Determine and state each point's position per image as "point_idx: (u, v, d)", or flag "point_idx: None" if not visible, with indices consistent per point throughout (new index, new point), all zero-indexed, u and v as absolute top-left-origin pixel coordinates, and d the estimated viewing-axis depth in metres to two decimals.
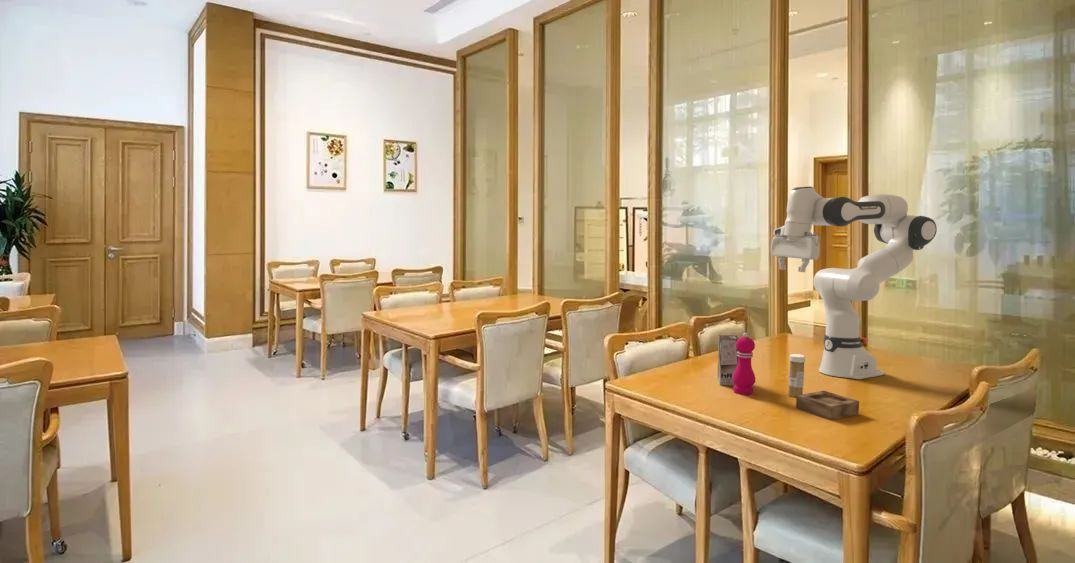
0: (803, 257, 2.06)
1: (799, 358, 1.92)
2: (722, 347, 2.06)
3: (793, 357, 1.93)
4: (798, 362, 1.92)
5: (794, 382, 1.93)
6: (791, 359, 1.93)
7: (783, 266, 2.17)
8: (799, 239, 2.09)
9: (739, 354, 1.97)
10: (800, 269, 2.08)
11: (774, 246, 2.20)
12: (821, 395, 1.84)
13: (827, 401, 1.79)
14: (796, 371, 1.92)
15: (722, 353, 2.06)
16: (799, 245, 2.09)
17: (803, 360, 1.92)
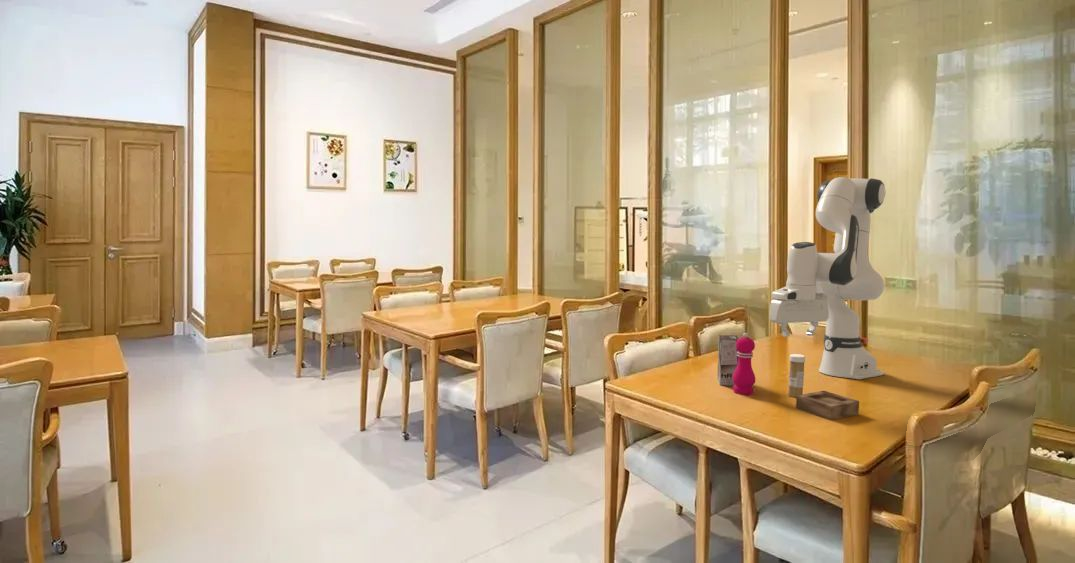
0: (819, 320, 1.93)
1: (799, 358, 1.92)
2: (722, 347, 2.06)
3: (793, 357, 1.93)
4: (798, 362, 1.92)
5: (794, 382, 1.93)
6: (791, 359, 1.93)
7: None
8: (813, 302, 1.91)
9: (739, 354, 1.97)
10: (813, 333, 1.93)
11: (781, 312, 1.88)
12: (821, 395, 1.84)
13: (827, 401, 1.79)
14: (796, 371, 1.92)
15: (722, 353, 2.06)
16: (812, 308, 1.92)
17: (803, 360, 1.92)
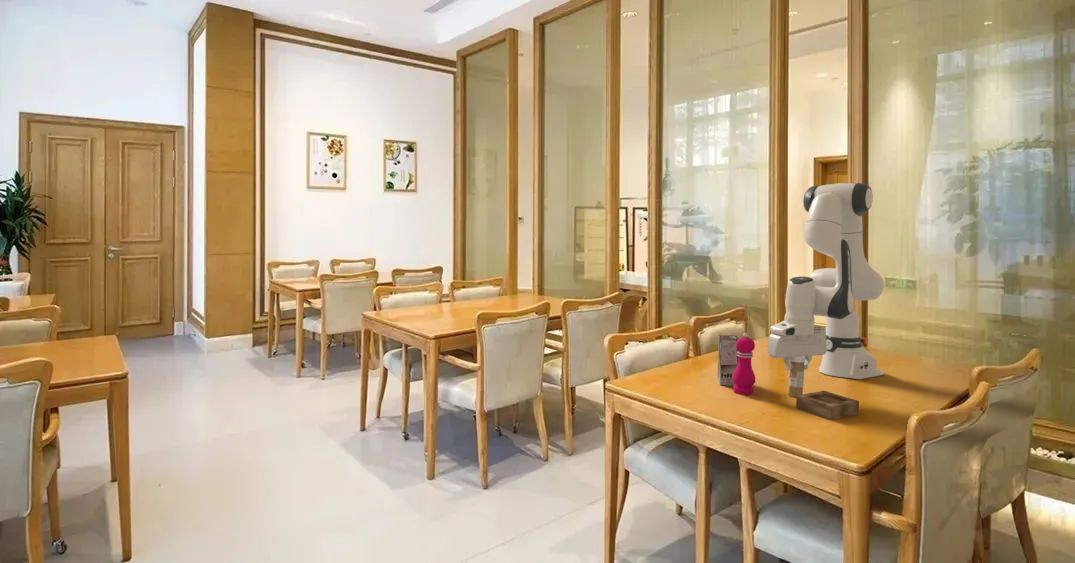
0: (818, 354, 1.94)
1: (799, 358, 1.92)
2: (722, 347, 2.06)
3: (793, 357, 1.93)
4: (798, 362, 1.92)
5: (794, 382, 1.93)
6: (791, 359, 1.93)
7: None
8: (811, 336, 1.92)
9: (739, 354, 1.97)
10: (806, 367, 1.94)
11: (780, 347, 1.89)
12: (821, 395, 1.84)
13: (827, 401, 1.79)
14: (796, 371, 1.92)
15: (722, 353, 2.06)
16: (811, 342, 1.93)
17: (803, 360, 1.92)
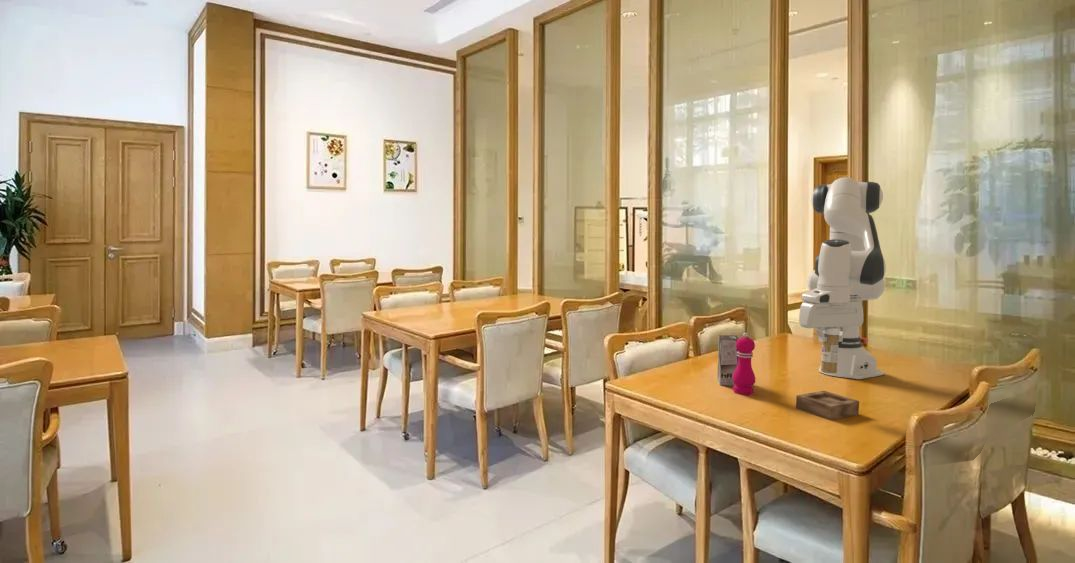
0: (853, 324, 1.77)
1: (833, 330, 1.75)
2: (722, 347, 2.06)
3: (827, 329, 1.75)
4: (832, 335, 1.75)
5: (828, 357, 1.76)
6: (824, 331, 1.76)
7: None
8: (847, 304, 1.75)
9: (739, 354, 1.97)
10: (841, 339, 1.77)
11: (813, 316, 1.72)
12: (821, 395, 1.84)
13: (827, 401, 1.79)
14: (830, 344, 1.75)
15: (722, 353, 2.06)
16: (846, 311, 1.76)
17: (838, 332, 1.75)
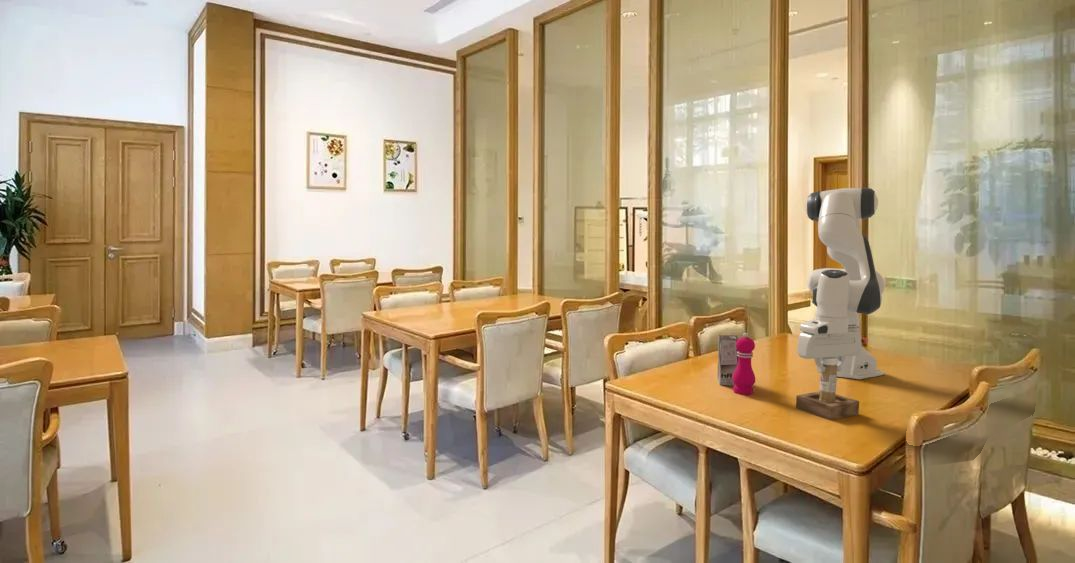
0: (852, 354, 1.78)
1: (832, 360, 1.75)
2: (722, 347, 2.06)
3: (825, 359, 1.76)
4: (831, 365, 1.76)
5: (826, 386, 1.77)
6: (823, 361, 1.77)
7: None
8: (845, 335, 1.76)
9: (739, 354, 1.97)
10: (839, 368, 1.78)
11: (811, 347, 1.73)
12: None
13: None
14: (828, 374, 1.76)
15: (722, 353, 2.06)
16: (844, 341, 1.77)
17: (836, 363, 1.76)
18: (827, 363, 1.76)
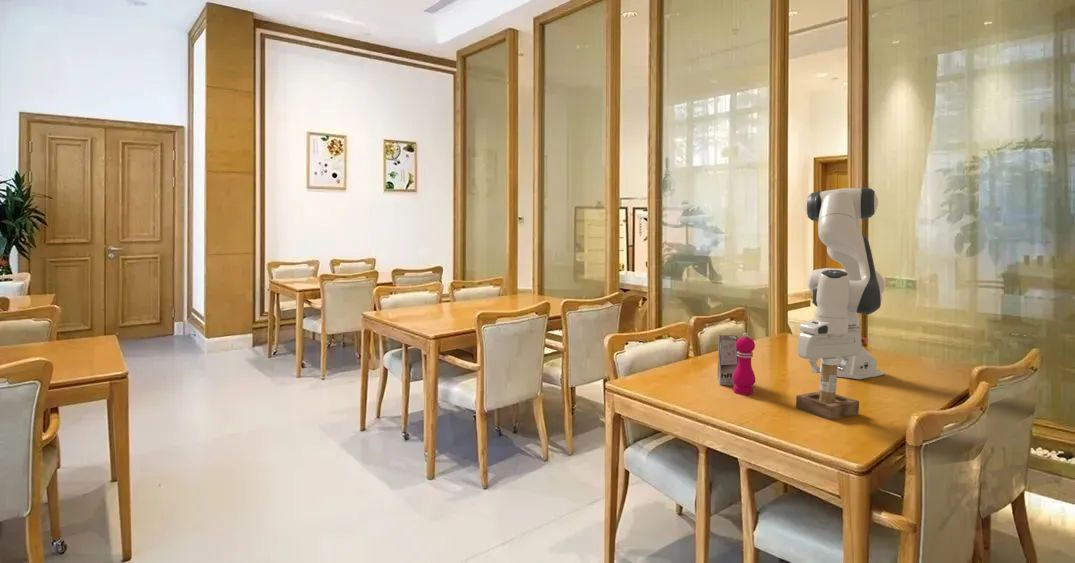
0: (852, 354, 1.78)
1: (832, 360, 1.75)
2: (722, 347, 2.06)
3: (825, 359, 1.76)
4: (831, 365, 1.76)
5: (826, 386, 1.77)
6: (823, 362, 1.77)
7: None
8: (845, 335, 1.76)
9: (739, 354, 1.97)
10: (845, 368, 1.78)
11: (811, 347, 1.73)
12: None
13: None
14: (829, 374, 1.76)
15: (722, 353, 2.06)
16: (844, 341, 1.77)
17: (836, 363, 1.76)
18: (827, 363, 1.76)
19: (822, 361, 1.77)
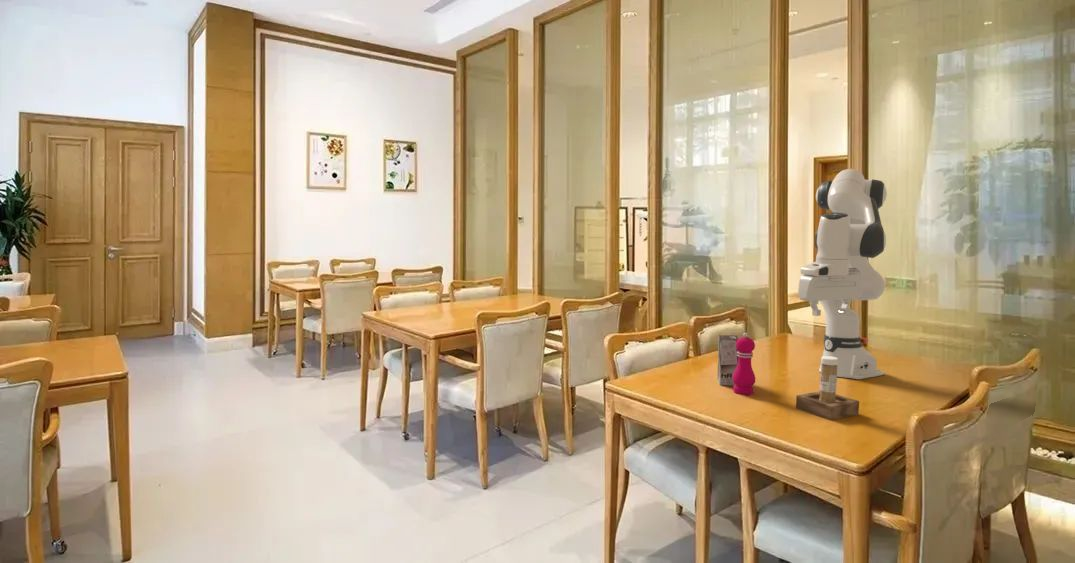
0: (852, 297, 1.78)
1: (832, 360, 1.75)
2: (722, 347, 2.06)
3: (825, 359, 1.76)
4: (831, 365, 1.76)
5: (826, 386, 1.77)
6: (823, 362, 1.77)
7: None
8: (846, 277, 1.76)
9: (739, 354, 1.97)
10: (845, 311, 1.78)
11: (812, 289, 1.73)
12: None
13: None
14: (829, 374, 1.76)
15: (722, 353, 2.06)
16: (845, 284, 1.76)
17: (836, 363, 1.76)
18: (827, 363, 1.76)
19: (822, 361, 1.77)
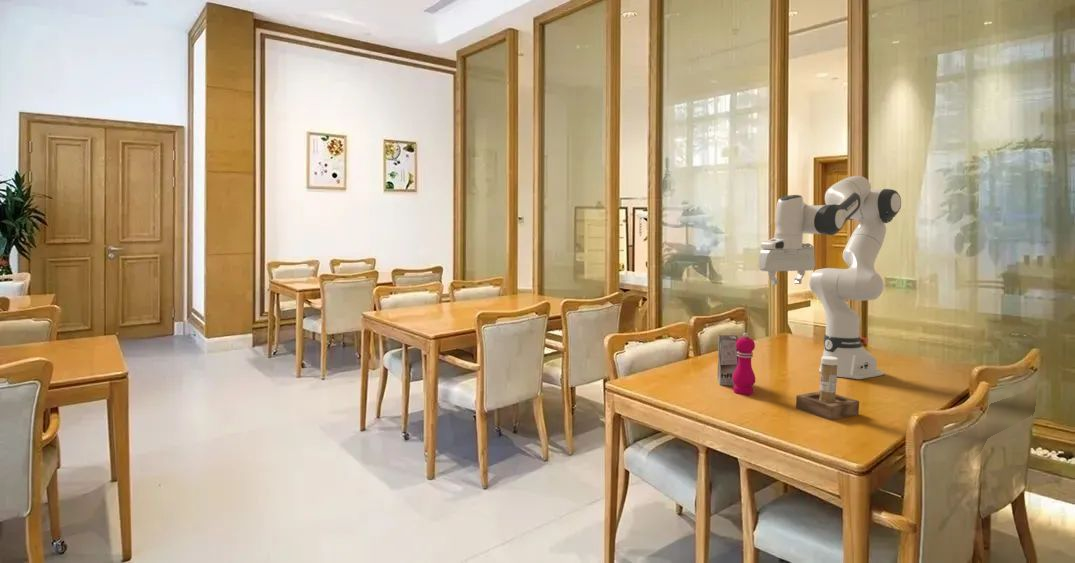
0: (806, 269, 2.04)
1: (832, 360, 1.75)
2: (722, 347, 2.06)
3: (825, 359, 1.76)
4: (831, 365, 1.76)
5: (826, 386, 1.77)
6: (823, 362, 1.77)
7: None
8: (800, 251, 2.02)
9: (739, 354, 1.97)
10: (800, 281, 2.04)
11: (770, 261, 1.99)
12: None
13: None
14: (829, 374, 1.76)
15: (722, 353, 2.06)
16: (799, 257, 2.03)
17: (836, 363, 1.76)
18: (827, 363, 1.76)
19: (822, 361, 1.77)
